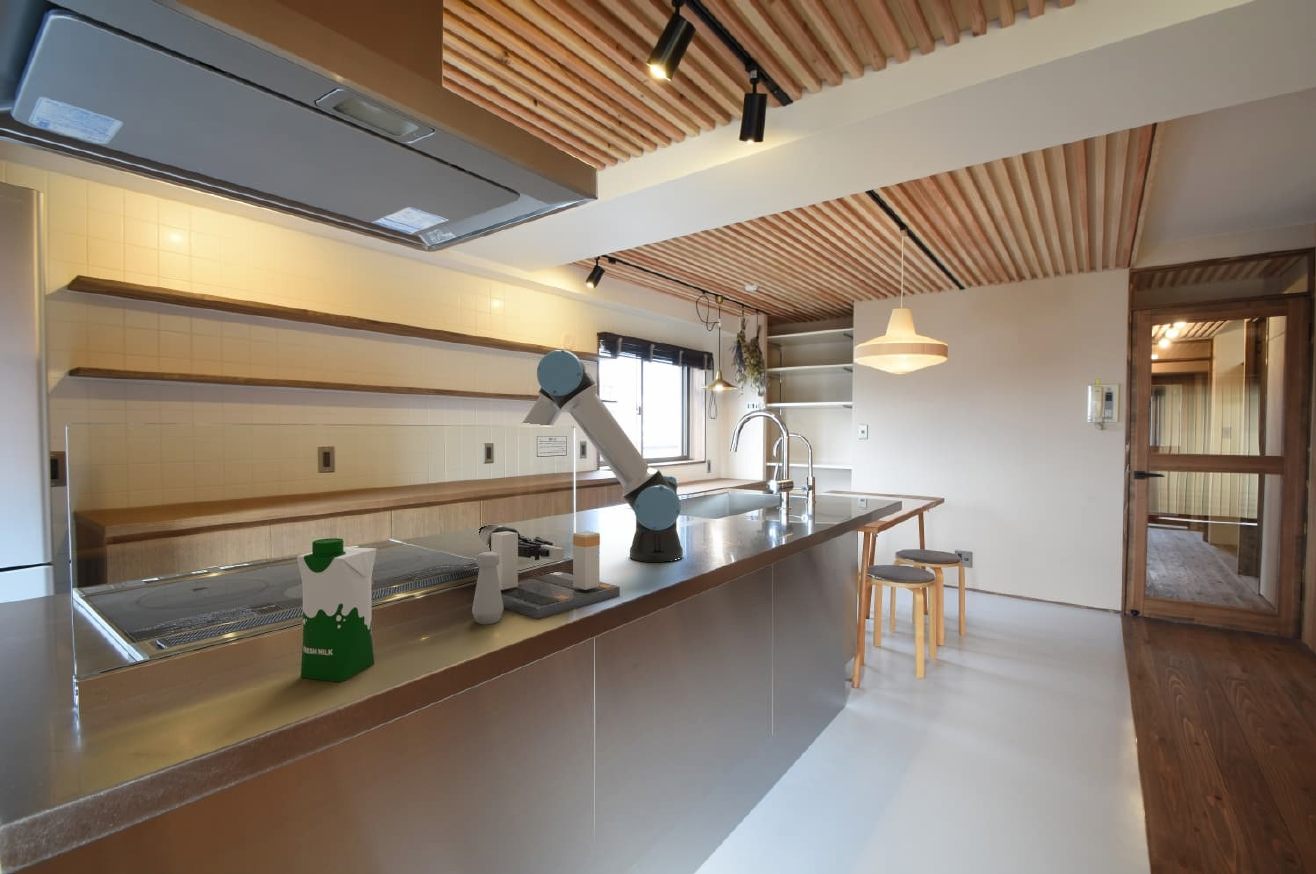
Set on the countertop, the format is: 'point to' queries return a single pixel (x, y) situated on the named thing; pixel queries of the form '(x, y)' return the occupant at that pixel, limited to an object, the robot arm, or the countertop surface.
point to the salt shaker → (487, 590)
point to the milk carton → (336, 610)
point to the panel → (553, 595)
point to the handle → (586, 559)
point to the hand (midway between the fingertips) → (561, 554)
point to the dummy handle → (506, 558)
